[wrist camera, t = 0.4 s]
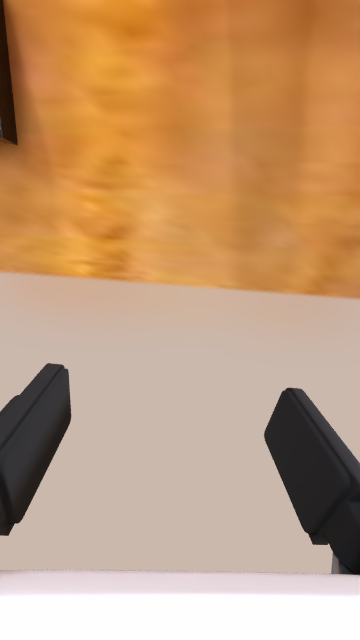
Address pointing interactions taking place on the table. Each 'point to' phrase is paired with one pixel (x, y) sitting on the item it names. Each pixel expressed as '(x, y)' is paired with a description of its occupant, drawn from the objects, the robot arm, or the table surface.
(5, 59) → the panel
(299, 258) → the table surface
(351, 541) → the robot arm
